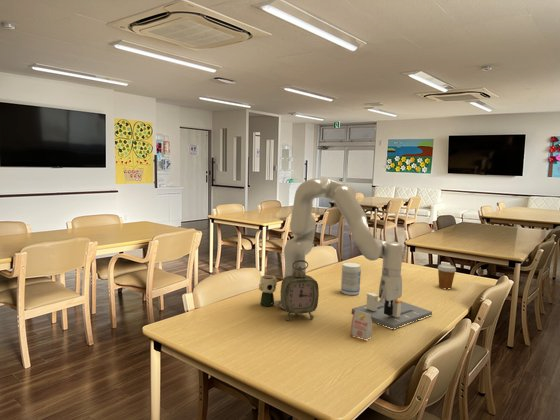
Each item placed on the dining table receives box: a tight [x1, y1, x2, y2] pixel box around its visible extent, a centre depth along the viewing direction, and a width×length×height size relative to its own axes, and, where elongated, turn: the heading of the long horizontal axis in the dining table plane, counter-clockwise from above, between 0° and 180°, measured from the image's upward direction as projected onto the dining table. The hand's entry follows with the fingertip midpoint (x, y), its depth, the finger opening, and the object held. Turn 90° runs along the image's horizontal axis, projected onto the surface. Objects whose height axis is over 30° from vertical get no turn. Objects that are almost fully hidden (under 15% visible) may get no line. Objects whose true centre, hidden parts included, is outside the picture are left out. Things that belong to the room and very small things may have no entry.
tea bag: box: [350, 310, 373, 339], centre depth 155 cm, size 4×7×10 cm, turn 52°
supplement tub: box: [340, 262, 362, 296], centre depth 208 cm, size 10×10×15 cm
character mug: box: [258, 274, 278, 307], centre depth 185 cm, size 11×7×13 cm, turn 136°
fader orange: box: [392, 298, 403, 317], centre depth 172 cm, size 3×4×7 cm, turn 38°
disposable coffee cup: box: [437, 263, 457, 290], centre depth 223 cm, size 10×10×12 cm
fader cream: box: [365, 292, 379, 311], centre depth 178 cm, size 3×4×7 cm, turn 38°
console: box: [351, 300, 433, 329], centre depth 180 cm, size 28×22×2 cm
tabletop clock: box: [280, 260, 320, 322], centre depth 171 cm, size 14×9×25 cm, turn 105°
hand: (388, 314), depth 170 cm, fingers closed
